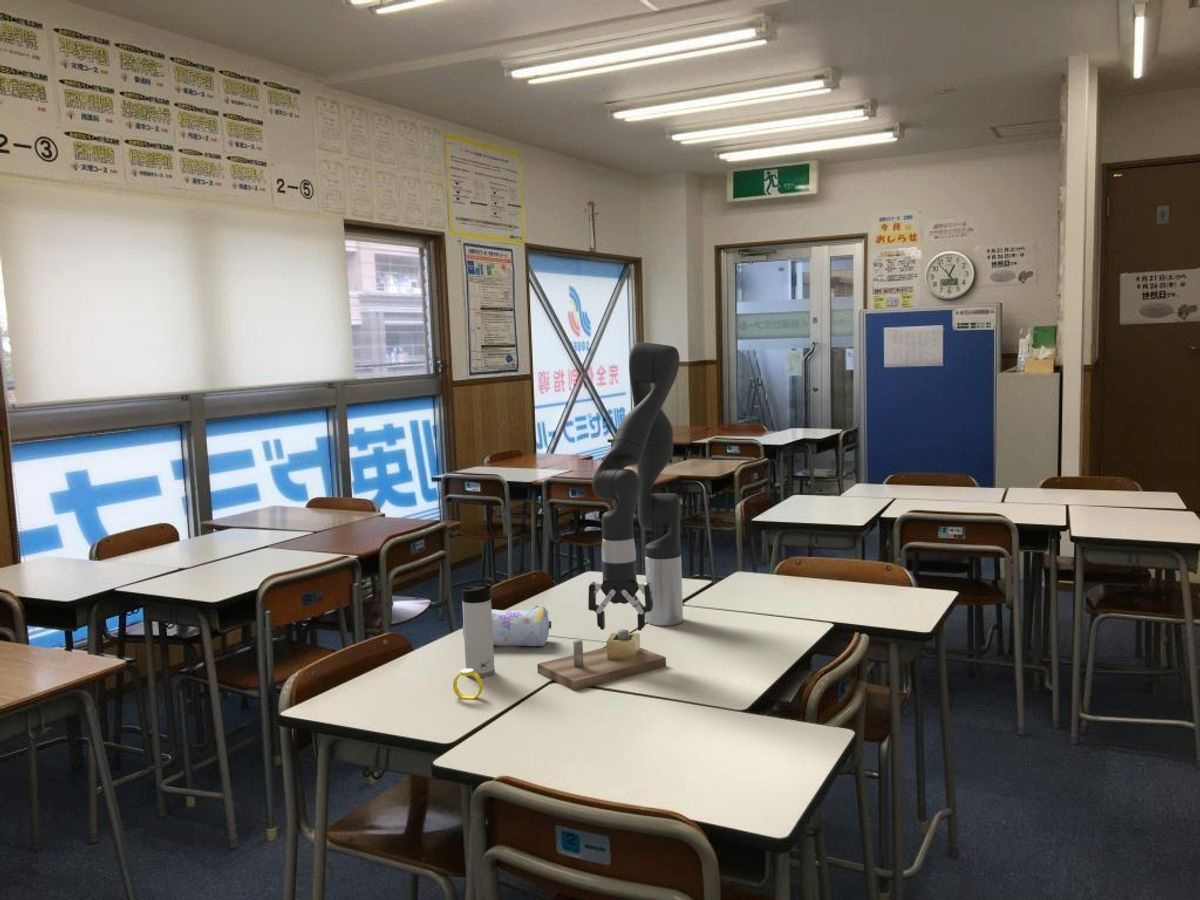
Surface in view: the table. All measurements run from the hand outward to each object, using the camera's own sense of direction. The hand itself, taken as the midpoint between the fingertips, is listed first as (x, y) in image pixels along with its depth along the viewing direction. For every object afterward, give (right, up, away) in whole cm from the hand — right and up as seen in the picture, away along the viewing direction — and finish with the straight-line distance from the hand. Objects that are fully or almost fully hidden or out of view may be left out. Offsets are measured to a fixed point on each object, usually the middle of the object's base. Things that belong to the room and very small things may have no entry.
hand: (621, 629), depth 213 cm
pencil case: (-27, -8, +18) cm, 34 cm away
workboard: (-4, -8, -3) cm, 10 cm away
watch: (-32, -11, -18) cm, 38 cm away
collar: (+1, -6, 0) cm, 6 cm away
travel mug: (-31, -10, -3) cm, 32 cm away
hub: (+1, -6, 0) cm, 6 cm away
